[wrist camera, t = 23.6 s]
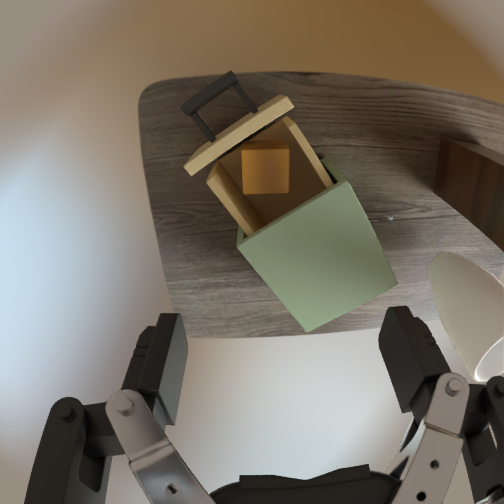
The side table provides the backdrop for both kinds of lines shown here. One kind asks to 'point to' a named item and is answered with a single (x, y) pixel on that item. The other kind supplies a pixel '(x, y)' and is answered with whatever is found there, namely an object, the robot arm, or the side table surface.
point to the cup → (470, 312)
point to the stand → (473, 185)
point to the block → (265, 167)
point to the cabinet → (320, 255)
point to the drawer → (230, 166)
